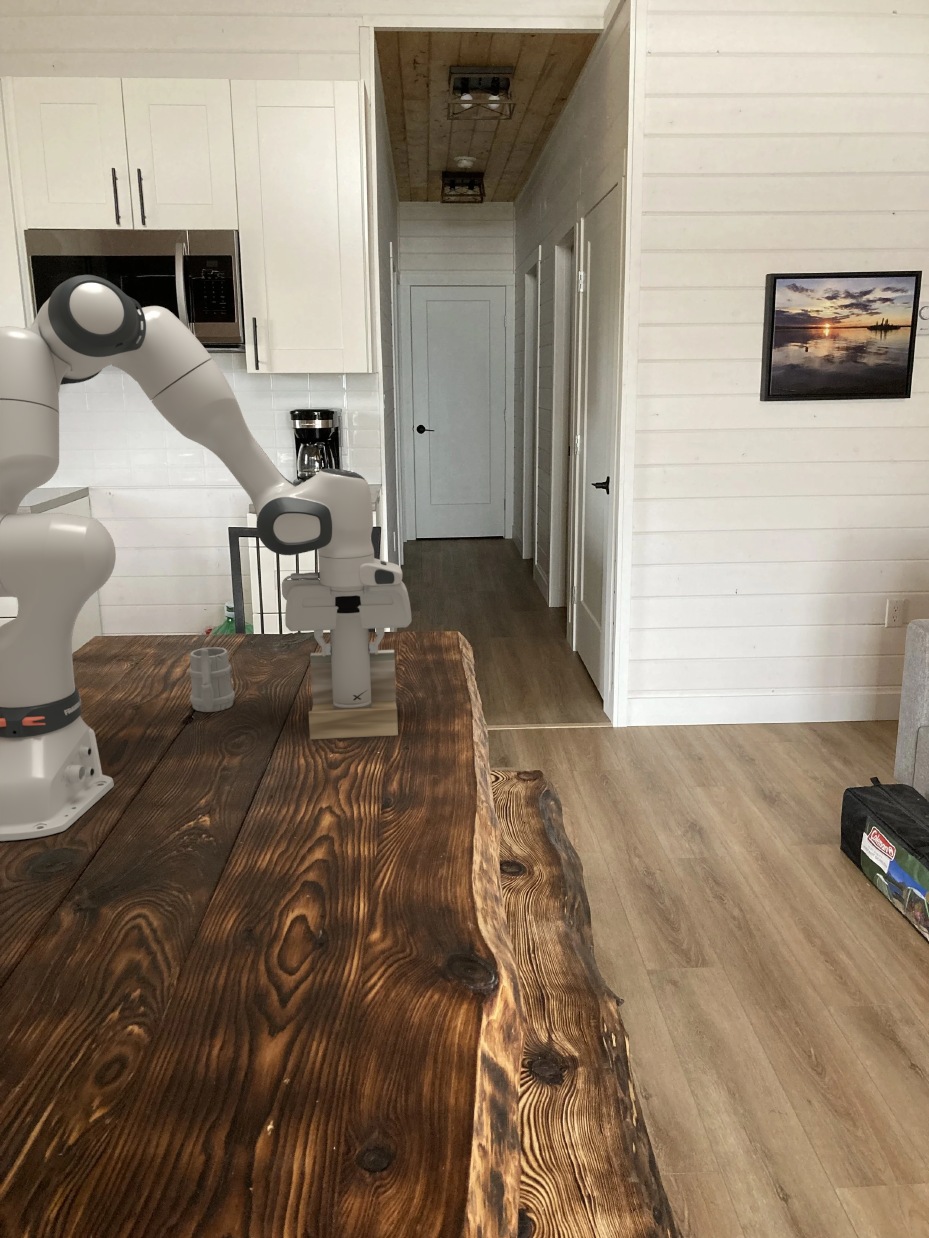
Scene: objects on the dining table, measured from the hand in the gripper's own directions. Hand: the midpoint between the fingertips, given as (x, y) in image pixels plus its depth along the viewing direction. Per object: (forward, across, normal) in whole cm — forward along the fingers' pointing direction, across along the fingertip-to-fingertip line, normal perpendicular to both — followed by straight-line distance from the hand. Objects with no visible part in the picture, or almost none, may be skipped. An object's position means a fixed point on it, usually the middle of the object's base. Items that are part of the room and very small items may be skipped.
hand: (350, 654), depth 154 cm
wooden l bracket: (+12, 0, 0) cm, 12 cm away
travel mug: (+10, 0, 0) cm, 10 cm away
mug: (+12, -25, +11) cm, 30 cm away
